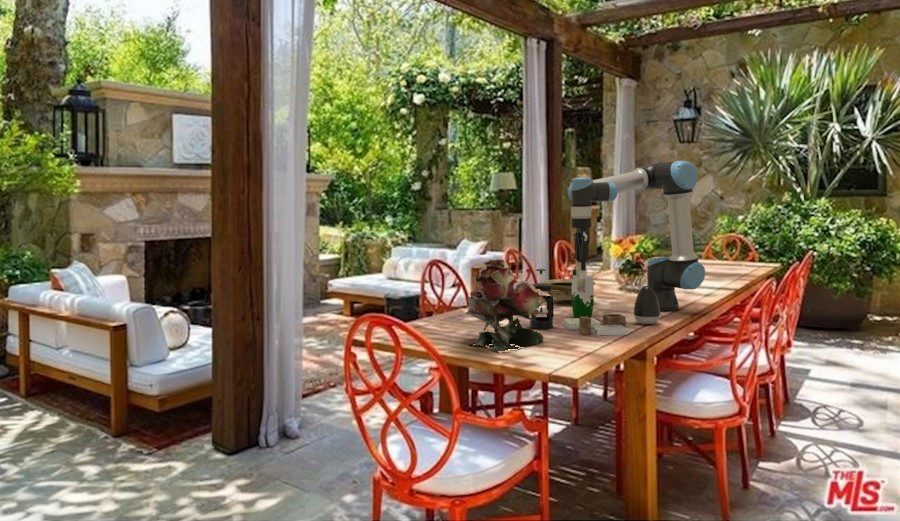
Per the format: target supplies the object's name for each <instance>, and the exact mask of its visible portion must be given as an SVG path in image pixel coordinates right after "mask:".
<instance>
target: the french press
mask: <svg viewBox="0 0 900 521" xmlns="http://www.w3.org/2000/svg"><path fill="white" fill-rule="evenodd" d="M535 271H536V272H539V275H543V272H545V271H547V269H544V268H537V269H535ZM542 280H543V279H542V278H540V282H538V283H537V282H536V283H532V284H533V285H534V286H535V289H536V290H538V291H540V294H539V295H540V296H543V298H544V299H545V300H546V301H545V303H546V309H545V308H543V307H542V305H543V304H542V305H540V307H539V308H538V309H539V314H538V315H546V316H534V315H530V316H531V317H530V318H531V319H534V320H529V325H528V326H529V327H528V328H529V329H532V328H533V330H551V329H553V328H554V297H553V296H550V295H547V294H546V295H542V294H543V293H542V292H546V293H547V291H551V286H553V285H552V284H547V283H544V282H543V281H542ZM538 309H536V310H538ZM535 320H537V321H535Z"/></svg>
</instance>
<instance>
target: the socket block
mask: <svg viewBox="0 0 900 521" xmlns="http://www.w3.org/2000/svg"><path fill="white" fill-rule="evenodd" d="M626 321H627V318H626V316H625V315H623V314H621V313H608V314H606V313H603V314H602V325H622V326H624V327H626V328H627V322H626Z"/></svg>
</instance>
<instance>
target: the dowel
mask: <svg viewBox="0 0 900 521" xmlns="http://www.w3.org/2000/svg"><path fill="white" fill-rule="evenodd" d="M576 270H577V292H579V293H584V292H585V279H579V262H578V261H576Z"/></svg>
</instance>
